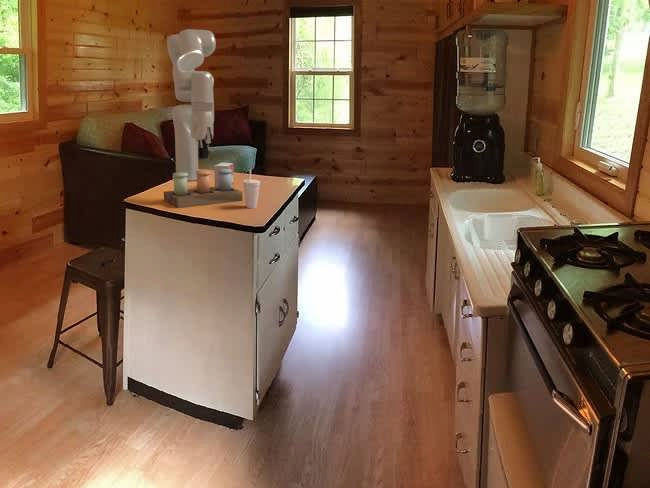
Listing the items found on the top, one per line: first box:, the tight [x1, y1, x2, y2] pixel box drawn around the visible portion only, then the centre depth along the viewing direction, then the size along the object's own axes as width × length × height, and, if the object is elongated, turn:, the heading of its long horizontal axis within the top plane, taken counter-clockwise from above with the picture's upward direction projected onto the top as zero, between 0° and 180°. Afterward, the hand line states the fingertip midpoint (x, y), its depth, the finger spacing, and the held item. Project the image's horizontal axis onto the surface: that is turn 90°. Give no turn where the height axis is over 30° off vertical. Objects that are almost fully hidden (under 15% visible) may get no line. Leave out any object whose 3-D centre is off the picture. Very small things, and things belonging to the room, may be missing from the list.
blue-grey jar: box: [218, 169, 232, 191], centre depth 239 cm, size 5×5×8 cm
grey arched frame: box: [213, 162, 235, 189], centre depth 254 cm, size 8×6×10 cm
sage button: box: [172, 171, 189, 196], centre depth 228 cm, size 5×5×8 cm
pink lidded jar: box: [196, 170, 212, 194], centre depth 233 cm, size 5×5×8 cm
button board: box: [163, 186, 243, 209], centre depth 235 cm, size 13×26×3 cm, turn 127°
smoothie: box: [242, 168, 261, 209], centre depth 227 cm, size 6×6×14 cm
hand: (203, 158), depth 230 cm, fingers closed
